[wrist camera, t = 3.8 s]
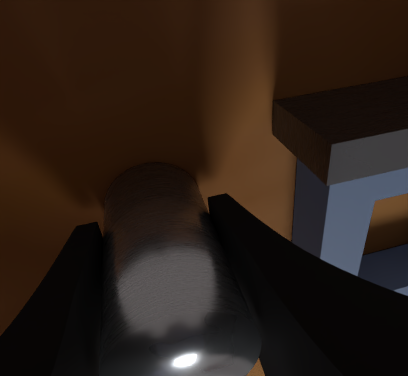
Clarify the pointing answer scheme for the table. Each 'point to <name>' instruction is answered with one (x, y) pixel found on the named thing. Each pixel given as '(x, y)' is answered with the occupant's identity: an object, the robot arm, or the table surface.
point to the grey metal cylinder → (169, 283)
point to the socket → (349, 225)
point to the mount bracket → (347, 130)
